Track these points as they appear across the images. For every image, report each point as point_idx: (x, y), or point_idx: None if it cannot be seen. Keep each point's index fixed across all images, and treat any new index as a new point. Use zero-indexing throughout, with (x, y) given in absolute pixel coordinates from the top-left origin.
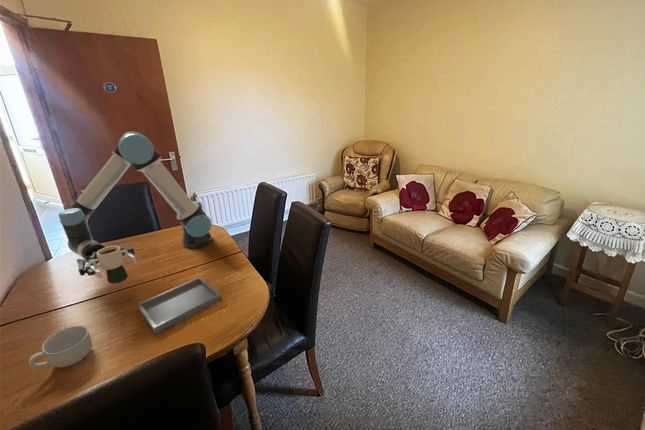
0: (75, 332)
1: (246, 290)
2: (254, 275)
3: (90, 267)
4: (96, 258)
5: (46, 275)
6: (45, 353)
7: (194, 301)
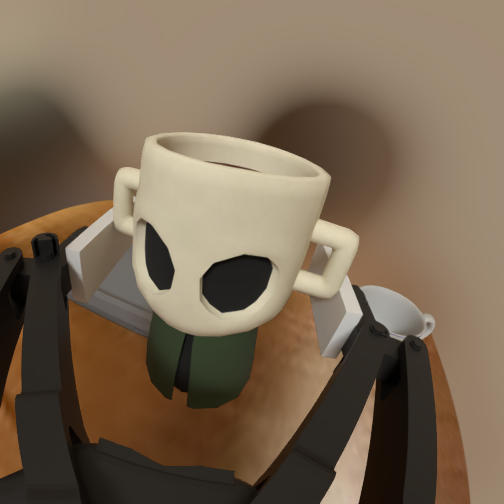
0: None
1: (81, 217)
2: (34, 220)
3: (357, 310)
4: (245, 482)
5: None
6: (416, 307)
7: (131, 258)
